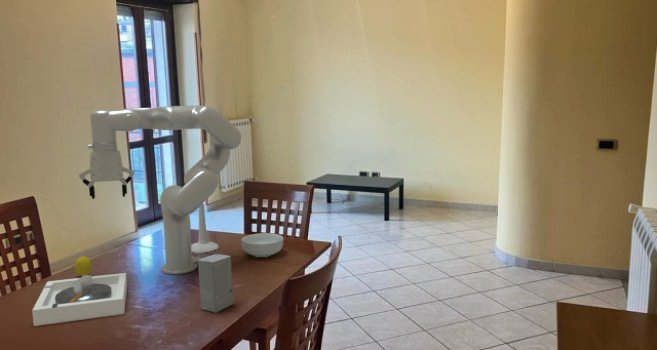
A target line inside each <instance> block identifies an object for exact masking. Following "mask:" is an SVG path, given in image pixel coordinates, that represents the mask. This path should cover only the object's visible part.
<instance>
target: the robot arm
mask: <svg viewBox="0 0 657 350" xmlns="http://www.w3.org/2000/svg"><path fill="white" fill-rule="evenodd" d="M89 119H90V129H91V130H90V131H91V140H92V141H91V142H92V143H90V144H87V148H88V149H91V150H92V151H91V152H90V153H89V154H90V155H89V169H87V170H85V171H83V172H81V173H80V174H79V175H78V176H79V178H80V180H81V181H82V183H83V184H84V185H86V186H87V187H88V189H89V190H88V191H89V196H90V197H91V199H92V200H95V198H96V194H95V193H96V191H95V186H94V184H95V183H97V182H100V183H101V182H102V183H103V182H116V181H119V182H121V184H122V185H121V191H122V197H123V198H124V197H126V195H127V194H128V188H127V187H128V186H127V184H129V182H131V180H132V178H133V177H134V175H135V171H134V170H132V169H130V168H127V167H125V166H123V161H122V155H121V151H120V150H118V143H117V132H126V133H127V132H129V133H131V132H134V131H136V130H142V129H143V130H145V129H146V130H160V131H178V130H180V131H181V130H194V129H195V130H198V129H202V130H204V131H205V132H207V134H209V149H208V150H207V152H206V153H205V154H204V155H203V156H202V157H201V159H199V160H198V161H197V162H196V163H195V164H194V165H193V166H192V167H191V168H189V169H188V170H187V171H186V173H185V174H184V177H183V181H184V182H183V183H184V185H183V186H180V185H176V184H175V185H174V184H173V185H168V186H167V187H165V188H164V189H163V190H162V192H161V194H160V202H159V203H160V208H161V213H162V222H163V223H162V224H163V240H164V255H165V264H164V265H162V266H161V271H162V273H165V274H169V275H182V274H187V273H191V272H193V271H195V270H196V269H197V267H198V265H197V264H198V260H199V259H202V258H205V257H206V256H205V257H204V256H203V257H202V256H201V255H200V256H194V255H193V254H194V253H192V248H191V245H192V233H191V232H192V231H191V217H190V215H192V214H193V213H195V211H197V210H198V209H199V206H200V205H202V204H204V203H205V202H206V201H207V200H208V199H209V198H210V197H211V196H212V195H213V194H214V193H215V192H216V190H217V188H218V185H219V176H218V175H219V174H220V173H221V172H222V171H223V170H224V169H225V167H226V166H227V164H228V162H229V160H230V156H231V150H234V149H237V148H238V147H239V146H240V144H241V142H242V133H241V132H240V130H239V129H238V128H237V127H236V126H235V125H234V124H233V123H232V122H230V120H228V119H227V118H226V117H225V116H224V115H222V113H221V112H219V111H218V110H217V109H216V108H214V107H213V106H209V105H177V106H176V105H171V106H170V105H167V106H156V107H141V108H140V107H138V108H120V109H115V110H108V109H107V110H105V109H104V110H103V109H102V110H99V109H98V110H93V111H91V112H90V118H89ZM124 173H126V174H128V177H127V178H125V177H124ZM88 175H89V176H90V181H89V180H88V179H87V178H86V176H88Z"/></svg>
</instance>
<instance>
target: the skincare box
mask: <svg viewBox="0 0 657 350" xmlns="http://www.w3.org/2000/svg"><path fill="white" fill-rule="evenodd" d="M231 258H232V256H231V255H227V254H220V253H215V254H212V255H208V256H207V255H206V256H205V258H202V259H199V260H198V263H197V264H198V265H197V267H198V279H199V280H198V281H199V296H200V309H201V310H205V311H208V312H212V313H214V314H217V313H219V312H221V311H222V310H225V309H227V308H228V307H230V306H233V305H234V297H233V295H234V292H233V278H232V277H233V275H232V274H233V273H232V259H231Z"/></svg>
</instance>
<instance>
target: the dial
mask: <svg viewBox="0 0 657 350" xmlns="http://www.w3.org/2000/svg"><path fill="white" fill-rule="evenodd" d="M92 277H93V275H92V274H88V275H83V276H81V277H78V278H79V279H78V280H77V281H75V282H74V283H73V287H70V288H67V289H65V290H62V291H61V292H59V293H58V294H57V295H56V296H55V303H56V304H57V303H58V304H66V303H74V302H82V301H90V300H98V299H106V298H109V297H110V296H111V294H112V291H111V287H110V286H108V285H105V284H97V283H94V284H92Z"/></svg>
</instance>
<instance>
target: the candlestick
mask: <svg viewBox="0 0 657 350" xmlns="http://www.w3.org/2000/svg"><path fill="white" fill-rule="evenodd" d="M206 223H207V222H206V215H205V204H204V203H203V204H202V205H200V206H199V207H198V241H197V242H193V243H191V248H192V252H194V253H193V254H205V253H204V252H209V253H211V252H210V251H213V252H215V251H214V250H216V251H218V250H217V249H218V248H219V249H220V246H219V244H217V243H216V242H213V241H208V234H207V233H208V232H207V224H206Z"/></svg>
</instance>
